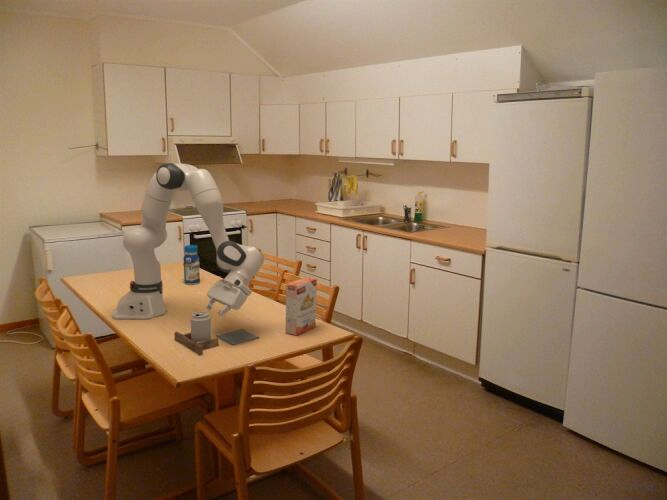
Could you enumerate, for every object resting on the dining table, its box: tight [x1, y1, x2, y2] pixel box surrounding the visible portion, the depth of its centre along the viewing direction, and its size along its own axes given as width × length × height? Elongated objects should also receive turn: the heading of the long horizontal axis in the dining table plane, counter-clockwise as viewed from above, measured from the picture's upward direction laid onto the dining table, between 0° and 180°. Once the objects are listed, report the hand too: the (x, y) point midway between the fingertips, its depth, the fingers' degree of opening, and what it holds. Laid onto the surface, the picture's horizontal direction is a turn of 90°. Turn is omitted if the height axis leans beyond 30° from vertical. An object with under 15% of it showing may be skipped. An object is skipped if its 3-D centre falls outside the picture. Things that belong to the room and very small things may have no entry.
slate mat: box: [215, 328, 260, 346], centre depth 223 cm, size 12×12×1 cm
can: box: [190, 311, 212, 342], centre depth 215 cm, size 8×8×12 cm
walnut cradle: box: [174, 331, 220, 356], centre depth 215 cm, size 10×20×3 cm, turn 41°
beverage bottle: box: [182, 244, 201, 286], centre depth 299 cm, size 8×8×20 cm
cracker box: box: [285, 276, 318, 336], centre depth 231 cm, size 14×6×21 cm, turn 148°
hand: (213, 312), depth 217 cm, fingers open, 8 cm apart
